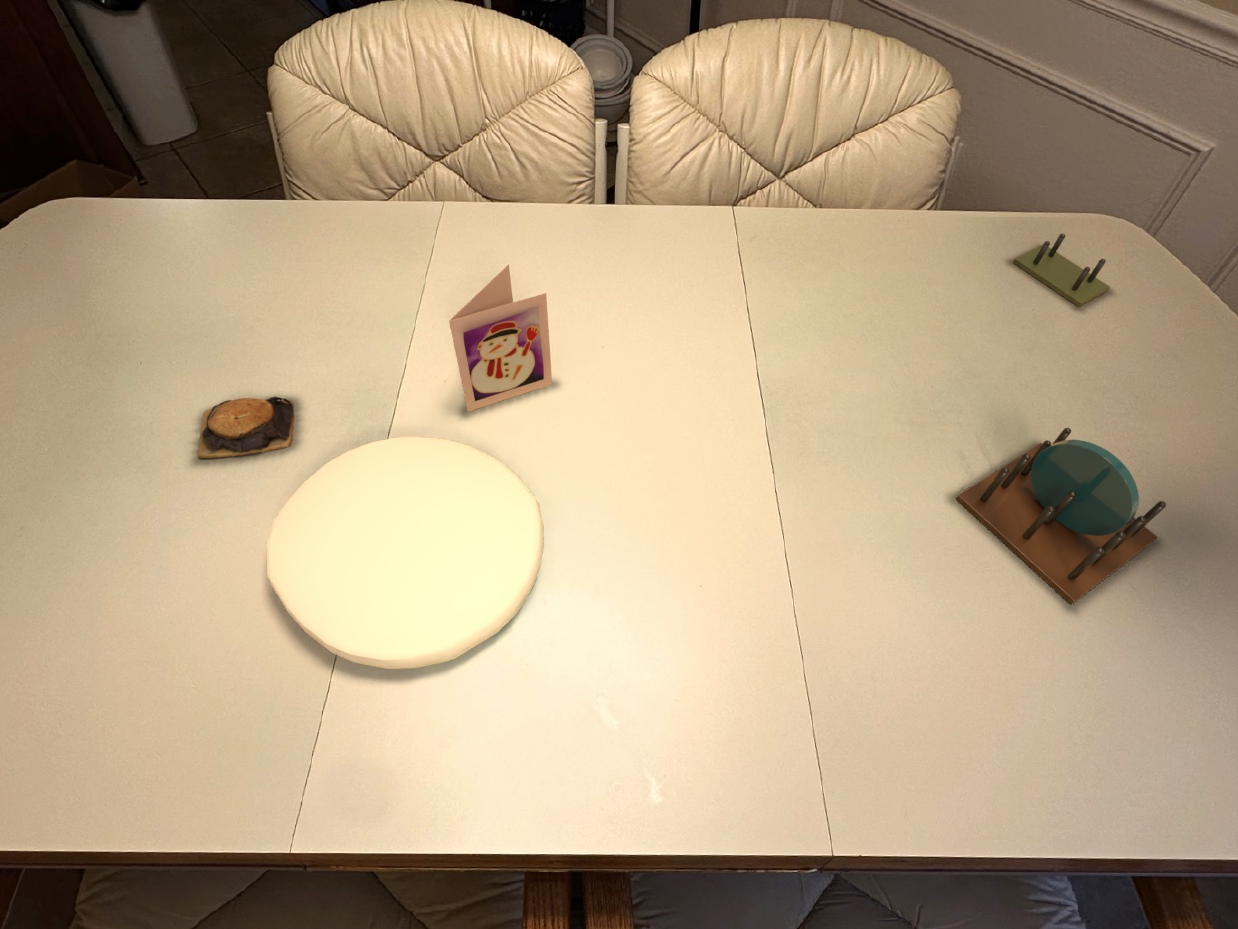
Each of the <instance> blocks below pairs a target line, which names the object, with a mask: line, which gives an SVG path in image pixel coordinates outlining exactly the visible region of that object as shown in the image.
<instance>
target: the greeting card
mask: <svg viewBox="0 0 1238 929" xmlns="http://www.w3.org/2000/svg"><path fill="white" fill-rule="evenodd" d="M512 288H513V287H512V279H511V271H510V264H507V265H506V266H505V267H504V268H502V269H501V271H499V272H498V273H497V274H496V276H495V277H494V278H492V279H491V280H490V281H489V282H488V283H487V284H486V285H485V286H484V287H482V289H481V290H480V291H479V292H477V293H476V295H474V296H473V298H472V299H470V300H469V301H468V302H467V303H466V304H465V305H464V306H463V307H462V308H461V309H460V310H459V311H458V312H457V313H456V314H455V315H453V316H452V317H450V319H449V320H448V322H449V323H448V324H449V327H450V332H451V338H452V342H453V347H454V351H455V358H456V361H457V366H458V371H459V375H460V380H461V385H462V391H463V396H464V399H465V405H466V411H467V412H471V411H474V410H478V409H480V408H483V407H484V408H485V407H486V406H489V405H493V404H495V403H500V402H501V401H505V400H508V399H512V398H515V397H517V396H520V395H524V394H526V393H529V392H533V391H535V390H539V389H542V388H545V387H548V386H551V385H553V377H552V359H551V345H550V330H549V315H548V299H547V292H545V293H542V294H541V293H540V294H538V295H534V296H531V297H527V298H524V299H521V300H517V301H514V299H513V290H512Z"/></svg>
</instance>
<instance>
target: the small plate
mask: <svg viewBox="0 0 1238 929" xmlns="http://www.w3.org/2000/svg"><path fill="white" fill-rule="evenodd" d="M1031 481H1032V486H1033V489H1034V492H1035V494H1036V496H1037V498H1038V500H1039V502H1040V503H1041V505H1042V506H1043V507H1044V509H1046V508H1047V507H1048V506H1053V507H1054V508H1055V507H1056V506H1057V505H1058V504H1059V502H1060V501H1061V500H1062V499H1063V498H1064V497H1065V496H1066V495H1067V493H1068V492H1070V491H1074V492H1075V493H1076V497H1075V498H1074V499H1073V500H1072V501H1071V502H1070V503H1069V504H1068V506H1067V507H1066V508H1065V509H1064V510H1063V511H1062V512H1061V513H1060V514H1059V515H1058V517H1057V518H1056V520H1057V521H1058V522H1060V523H1061V524H1063V525H1064V526H1066V527H1068V528H1070V529H1072V530H1074V531H1076V532H1079V533H1082V534H1087V535H1094V536H1103V535H1109V534H1112V533H1115V532H1117V531H1119V530H1120V529H1121V528H1123V527H1124V526H1125V525H1127V524H1128V523H1129V522H1130V521H1131V520H1132V519H1133V518H1135V516H1136V514H1137V513H1138V509H1139V505H1140V496H1139V495H1140V494H1139V489H1138V485H1137V483H1136V480H1135V479H1134V477H1133V475H1132V473H1131V472H1130V470H1129V469H1128V467H1127V466H1126V465H1125V464H1124V463H1123V462H1122V461H1121V460H1120V459H1119V458H1118V457H1117V456H1116V455H1114V454H1113V453H1112V452H1110V451H1109V450H1107V449H1106V448H1105V447H1102V446H1100V445H1098V444H1095V443H1092V442H1089V441H1086V440H1082V439H1081V440H1080V439H1065V440H1064V441H1060V442H1057V443H1054V444H1053V443H1051V446H1049V447H1048V448H1046V449H1044V450H1043V451H1042V452H1041V453H1040V454H1039V455H1038V456H1037V457H1036V459H1035V460H1034V463H1033V465H1032V469H1031Z"/></svg>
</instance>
